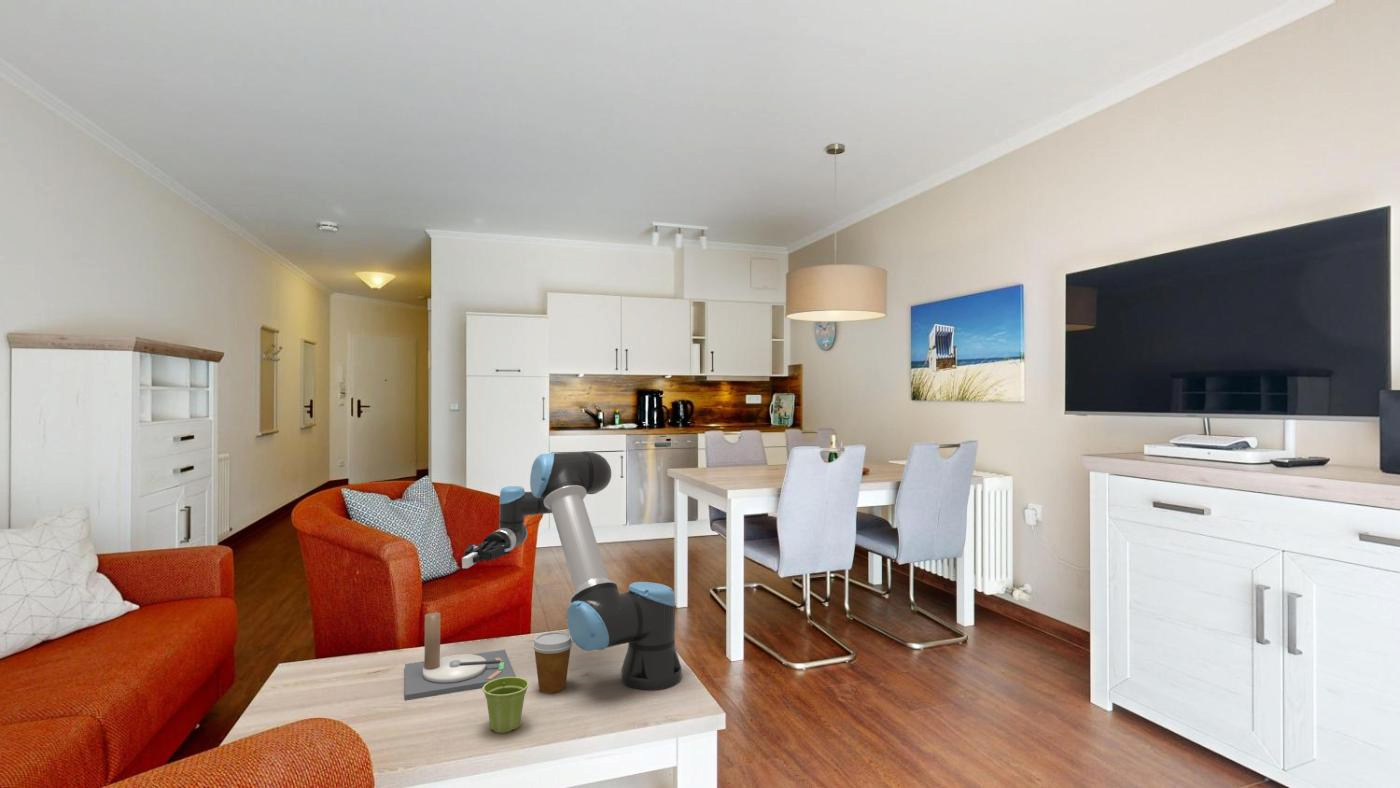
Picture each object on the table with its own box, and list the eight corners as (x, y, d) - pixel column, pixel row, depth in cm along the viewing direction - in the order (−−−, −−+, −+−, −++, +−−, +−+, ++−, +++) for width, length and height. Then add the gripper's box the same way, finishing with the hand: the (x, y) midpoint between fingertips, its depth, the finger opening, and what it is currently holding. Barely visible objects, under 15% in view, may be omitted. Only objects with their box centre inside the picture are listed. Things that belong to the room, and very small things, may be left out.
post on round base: (502, 667, 167) (502, 611, 167) (453, 688, 154) (454, 628, 154) (459, 654, 175) (459, 601, 175) (409, 674, 162) (410, 616, 162)
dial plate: (516, 682, 161) (516, 675, 161) (405, 700, 151) (405, 693, 151) (504, 653, 180) (504, 648, 180) (405, 668, 169) (405, 662, 169)
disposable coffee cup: (577, 680, 162) (577, 632, 163) (565, 697, 153) (565, 646, 153) (539, 678, 163) (540, 630, 163) (526, 695, 154) (526, 644, 154)
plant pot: (488, 716, 143) (488, 676, 143) (531, 715, 144) (532, 675, 144) (477, 738, 134) (477, 695, 134) (523, 736, 135) (524, 694, 135)
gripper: (520, 555, 198) (488, 577, 175) (478, 555, 200) (441, 577, 176) (519, 530, 198) (488, 549, 175) (478, 530, 200) (441, 549, 176)
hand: (464, 563), depth 176 cm, fingers closed
